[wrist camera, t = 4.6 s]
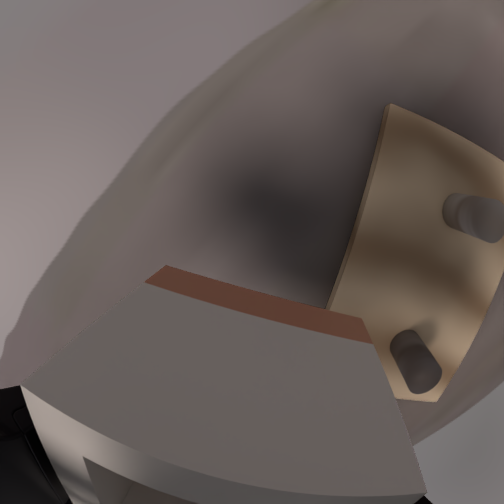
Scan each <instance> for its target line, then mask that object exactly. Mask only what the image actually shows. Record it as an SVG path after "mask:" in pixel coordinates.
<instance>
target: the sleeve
mask: <svg viewBox="0 0 504 504" xmlns="http://www.w3.org/2000/svg"><path fill="white" fill-rule="evenodd" d="M20 386H21V389H22V393H23V396H24V399H25V402H26V405H27V407H28V410H29V413H30V416H31V418H32V421H33V424H34V426H35V429H36V431H37V434H38V436H39V438H40V441H41V443H42V445H43V448H44V450H45V452H46V454H47V456H48V458H49V460H50V462H51V464H52V466H53V468H54V470H55V472H56V474H57V476H58V478H59V480H60V482H61V484H62V485H63V487H64V489H65V491H66V493H67V494H68V496H69V498H70V499H71V501H72V503H73V504H414V503H415V502H417V501H418V500H419V499H420V498H421V497H423V496H424V495H425V494H426V493H427V490H426V487H425V483H424V480H423V477H422V474H421V470H420V467H419V464H418V461H417V458H416V455H415V453H414V449H413V446H412V443H411V440H410V437H409V434H408V431H407V429H406V426H405V423H404V420H403V418H402V415H401V412H400V409H399V407H398V404H397V402H396V399H395V396H394V394H393V391H392V389H391V386H390V384H389V381H388V379H387V376H386V374H385V371H384V369H383V366H382V364H381V361H380V359H379V357H378V354H377V352H376V350H375V347H374V345H373V343H372V340H371V338H370V336H369V333H368V331H367V329H366V327H365V324H364V322H363V320H362V318H358V317H354V316H350V315H346V314H342V313H338V312H334V311H330V310H326V309H322V308H318V307H314V306H310V305H306V304H302V303H298V302H294V301H291V300H287V299H283V298H279V297H275V296H272V295H268V294H264V293H261V292H257V291H253V290H250V289H246V288H242V287H239V286H235V285H232V284H228V283H225V282H221V281H218V280H214V279H211V278H207V277H204V276H200V275H197V274H194V273H190V272H187V271H183V270H180V269H177V268H173V267H170V266H167V265H166V266H164V267H163V268H162V269H160V270H159V271H158V272H156V273H155V274H154V275H153V276H151V277H150V278H149V279H147V280H146V281H145V282H143V283H142V284H141V285H140V286H138V287H137V288H136V289H134V290H133V291H132V292H131V293H129V294H128V295H127V296H126V297H124V298H123V299H122V300H120V301H119V302H118V303H117V304H115V305H114V306H113V307H112V308H110V309H109V310H108V311H107V312H105V313H104V314H103V315H102V316H100V317H99V318H98V319H97V320H96V321H94V322H93V323H92V324H91V325H89V326H88V327H87V328H86V329H84V330H83V331H82V332H81V333H80V334H78V335H77V336H76V337H75V338H74V339H72V340H71V341H70V342H69V343H68V344H66V345H65V346H64V347H63V348H62V349H60V350H59V351H58V352H57V353H56V354H55V355H53V356H52V357H51V358H50V359H49V360H48V361H46V362H45V363H44V364H43V365H42V366H41V367H39V368H38V369H37V370H36V371H35V372H34V373H33V374H31V375H30V376H29V377H28V378H27V379H26V380H25V381H23V382H22V383H21V384H20Z"/></svg>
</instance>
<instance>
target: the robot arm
mask: <svg viewBox="0 0 504 504" xmlns="http://www.w3.org/2000/svg"><path fill="white" fill-rule="evenodd" d="M0 504H73V503H72V501H71V499H70V498H69V496H68V494H67V493H66V491H65V489H64V487H63V485H62V484H61V482H60V480H59V478H58V476H57V474H56V472H55V470H54V468H53V466H52V464H51V462H50V460H49V458H48V456H47V454H46V452H45V450H44V448H43V445H42V443H41V441H40V438H39V436H38V434H37V431H36V429H35V426H34V424H33V421H32V418H31V416H30V413H29V410H28V407H27V405H26V402H25V399H24V396H23V393H22V389H21V386H20V385H19V386H14V387H9V388H4V389H0ZM414 504H432V503H431V502H430V501H429V500H428V499H427V498H426V497H425V496H423V497H421V498H420V499H419V500H418V501H417V502H415V503H414Z"/></svg>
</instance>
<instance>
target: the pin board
mask: <svg viewBox="0 0 504 504" xmlns="http://www.w3.org/2000/svg"><path fill="white" fill-rule="evenodd" d="M503 271H504V162H503V161H502V160H500V159H499V158H497V157H496V156H494V155H492V154H491V153H489V152H488V151H486V150H484V149H483V148H481V147H479V146H478V145H476V144H474V143H472V142H471V141H469V140H467V139H465V138H464V137H462V136H460V135H458V134H456V133H454V132H452V131H450V130H449V129H447V128H445V127H443V126H441V125H439V124H437V123H435V122H433V121H430V120H428V119H426V118H424V117H422V116H420V115H418V114H415V113H413V112H411V111H408V110H406V109H404V108H401V107H399V106H397V105H394V104H392V103H390V104H388V105H387V106H386V107H385V109H384V113H383V118H382V123H381V127H380V131H379V136H378V140H377V144H376V148H375V152H374V156H373V160H372V164H371V168H370V172H369V176H368V179H367V183H366V187H365V190H364V194H363V197H362V201H361V204H360V207H359V211H358V214H357V217H356V221H355V224H354V227H353V230H352V234H351V237H350V240H349V243H348V246H347V249H346V252H345V255H344V258H343V261H342V264H341V267H340V270H339V273H338V276H337V278H336V281H335V284H334V287H333V289H332V292H331V295H330V298H329V300H328V303H327V306H326V308H325V309H326V310H330V311H334V312H338V313H342V314H346V315H350V316H354V317H358V318H362V320H363V322H364V324H365V327H366V329H367V331H368V333H369V336H370V338H371V340H372V343H373V345H374V347H375V350H376V352H377V354H378V357H379V359H380V361H381V364H382V366H383V369H384V371H385V374H386V376H387V379H388V381H389V384H390V386H391V389H392V391H393V394H394V396H395V398H398V399H407V400H417V401H428V402H437V400H438V399H439V397H440V396H441V394H442V393H443V391H444V390H445V388H446V387H447V385H448V383H449V382H450V380H451V379H452V377H453V375H454V374H455V372H456V370H457V369H458V367H459V365H460V364H461V362H462V360H463V358H464V356H465V355H466V353H467V351H468V349H469V347H470V345H471V344H472V342H473V340H474V338H475V336H476V334H477V332H478V330H479V328H480V326H481V324H482V321H483V319H484V317H485V315H486V313H487V311H488V308H489V306H490V304H491V301H492V299H493V297H494V294H495V292H496V289H497V287H498V284H499V282H500V279H501V276H502V273H503Z"/></svg>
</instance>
